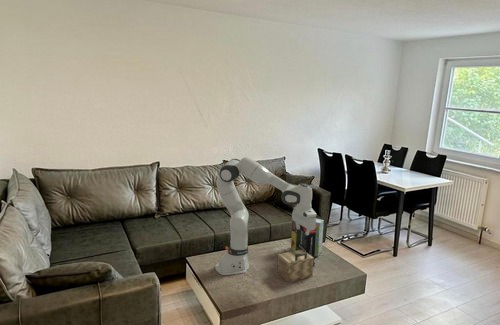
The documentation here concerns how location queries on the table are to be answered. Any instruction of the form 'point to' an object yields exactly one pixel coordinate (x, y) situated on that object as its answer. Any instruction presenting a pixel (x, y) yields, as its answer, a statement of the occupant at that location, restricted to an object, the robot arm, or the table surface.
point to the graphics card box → (306, 241)
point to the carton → (295, 269)
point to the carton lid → (295, 256)
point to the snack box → (317, 241)
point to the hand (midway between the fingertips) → (302, 231)
